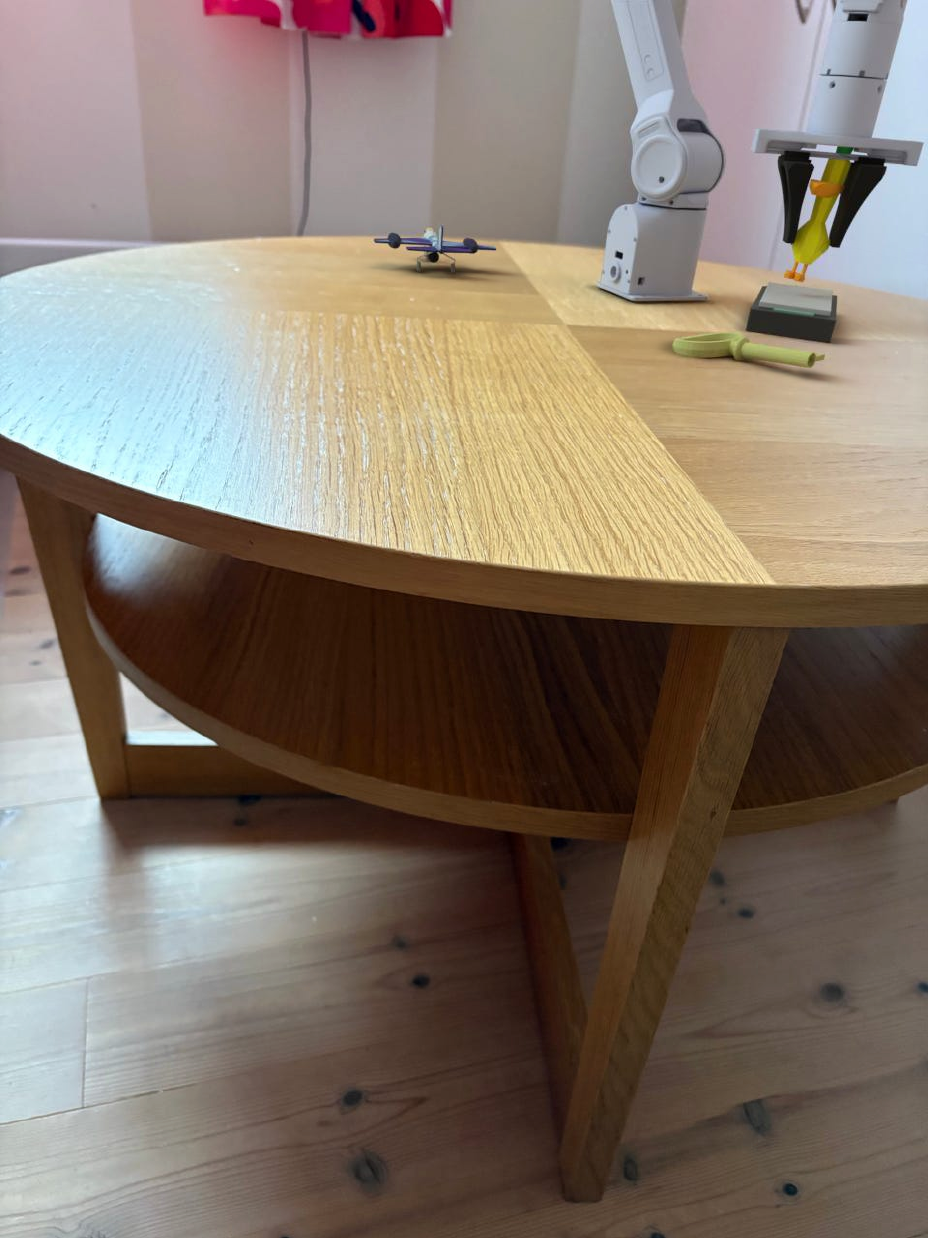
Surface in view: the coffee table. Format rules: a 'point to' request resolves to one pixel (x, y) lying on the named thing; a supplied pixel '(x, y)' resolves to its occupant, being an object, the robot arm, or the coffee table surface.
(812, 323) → the scale
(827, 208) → the toy figure
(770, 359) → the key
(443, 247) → the toy airplane
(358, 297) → the coffee table surface
